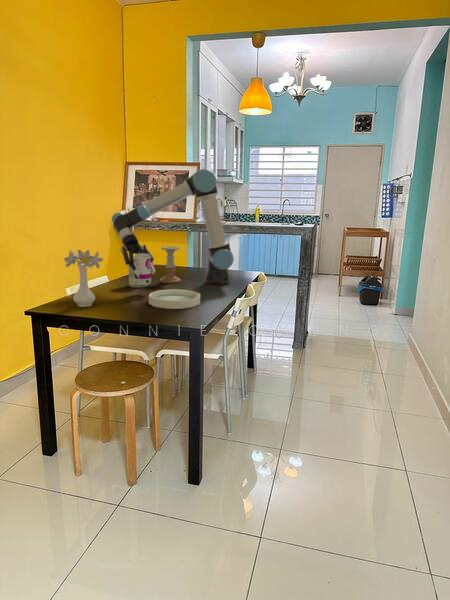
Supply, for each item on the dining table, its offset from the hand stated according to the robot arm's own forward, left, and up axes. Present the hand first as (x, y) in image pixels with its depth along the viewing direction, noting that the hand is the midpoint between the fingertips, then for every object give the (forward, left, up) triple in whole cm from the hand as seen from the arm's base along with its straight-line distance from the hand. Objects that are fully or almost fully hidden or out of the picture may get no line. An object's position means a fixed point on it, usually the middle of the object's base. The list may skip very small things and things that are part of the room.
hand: (146, 273), depth 205 cm
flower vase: (+25, +21, -11) cm, 35 cm away
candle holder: (-9, -37, -11) cm, 39 cm away
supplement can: (+2, -3, -6) cm, 7 cm away
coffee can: (+8, -24, -11) cm, 27 cm away
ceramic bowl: (-15, +13, -11) cm, 23 cm away
